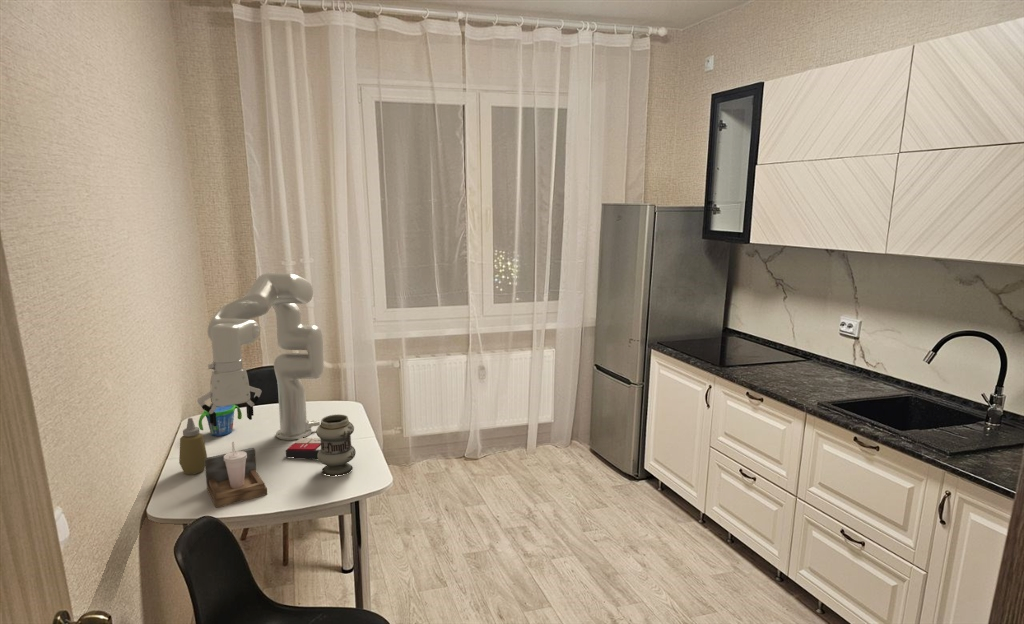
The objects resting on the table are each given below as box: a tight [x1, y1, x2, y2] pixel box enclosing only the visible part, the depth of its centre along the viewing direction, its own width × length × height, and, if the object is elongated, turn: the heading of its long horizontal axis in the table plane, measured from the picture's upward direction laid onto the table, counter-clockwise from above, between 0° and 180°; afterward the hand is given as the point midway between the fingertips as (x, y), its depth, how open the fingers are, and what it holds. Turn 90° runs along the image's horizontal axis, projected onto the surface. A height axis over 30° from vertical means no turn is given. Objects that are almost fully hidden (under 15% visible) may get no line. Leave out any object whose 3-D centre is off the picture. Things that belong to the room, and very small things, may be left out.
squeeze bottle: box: [178, 417, 208, 475], centre depth 188 cm, size 8×8×18 cm
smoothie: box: [224, 441, 247, 488], centre depth 175 cm, size 6×6×14 cm
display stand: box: [204, 447, 268, 508], centre depth 175 cm, size 14×14×10 cm
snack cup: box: [198, 404, 243, 437], centre depth 221 cm, size 16×10×10 cm
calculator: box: [285, 437, 321, 460], centre depth 205 cm, size 11×4×15 cm
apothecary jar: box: [315, 413, 356, 477], centre depth 190 cm, size 12×12×18 cm
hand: (232, 421), depth 172 cm, fingers open, 9 cm apart
